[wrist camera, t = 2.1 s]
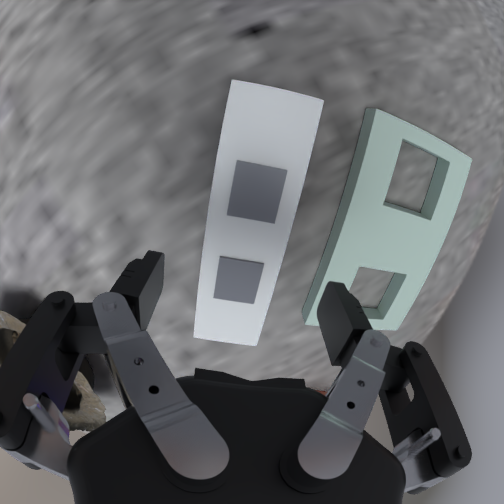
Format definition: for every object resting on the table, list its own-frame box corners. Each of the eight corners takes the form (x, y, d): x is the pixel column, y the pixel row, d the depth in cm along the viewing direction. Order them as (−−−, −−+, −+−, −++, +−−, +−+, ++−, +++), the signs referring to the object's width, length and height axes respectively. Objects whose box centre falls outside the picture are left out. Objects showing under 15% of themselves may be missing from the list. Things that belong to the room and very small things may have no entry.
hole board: (366, 108, 19) (376, 108, 17) (459, 154, 20) (472, 159, 18) (301, 311, 28) (304, 324, 27) (390, 319, 30) (396, 330, 28)
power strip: (236, 91, 18) (231, 79, 12) (299, 105, 19) (325, 100, 12) (203, 286, 26) (193, 339, 20) (253, 293, 27) (256, 347, 21)
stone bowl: (71, 401, 40) (55, 433, 32) (-9, 308, 31) (-35, 336, 23) (150, 392, 35) (133, 441, 27) (40, 259, 26) (-6, 297, 18)
